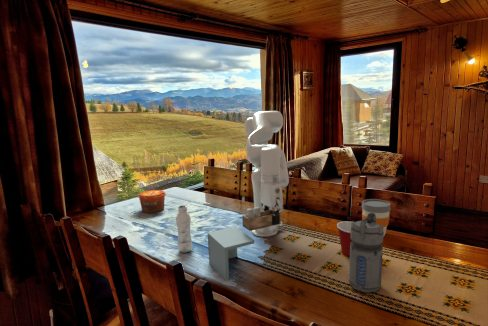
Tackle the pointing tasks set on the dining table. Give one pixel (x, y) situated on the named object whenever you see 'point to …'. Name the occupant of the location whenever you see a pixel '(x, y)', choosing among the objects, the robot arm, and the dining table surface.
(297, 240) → the dining table surface
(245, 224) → the tray
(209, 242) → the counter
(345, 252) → the plastic cup
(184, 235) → the plastic bottle
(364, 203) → the reusable coffee cup
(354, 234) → the beverage bottle
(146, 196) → the food container
